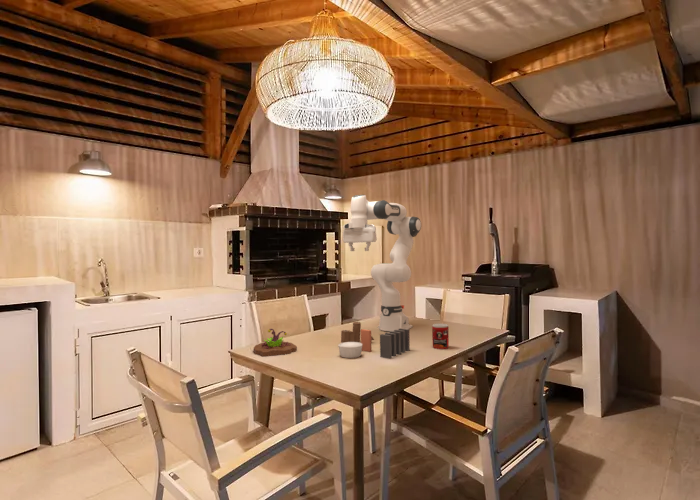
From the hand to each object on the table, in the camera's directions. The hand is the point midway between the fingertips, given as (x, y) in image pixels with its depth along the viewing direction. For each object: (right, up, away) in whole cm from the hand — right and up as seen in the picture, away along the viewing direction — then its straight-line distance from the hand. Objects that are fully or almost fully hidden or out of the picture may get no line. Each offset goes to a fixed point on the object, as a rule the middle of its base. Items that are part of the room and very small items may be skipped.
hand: (359, 251), depth 219 cm
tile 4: (+13, -47, -31) cm, 58 cm away
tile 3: (+16, -47, -28) cm, 57 cm away
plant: (-42, -49, -18) cm, 67 cm away
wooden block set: (-2, -48, -7) cm, 48 cm away
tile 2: (+18, -47, -25) cm, 57 cm away
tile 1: (+21, -47, -22) cm, 56 cm away
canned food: (+39, -47, -18) cm, 64 cm away
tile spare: (+3, -48, -22) cm, 53 cm away
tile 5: (+11, -47, -34) cm, 60 cm away
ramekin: (-5, -48, -30) cm, 57 cm away
